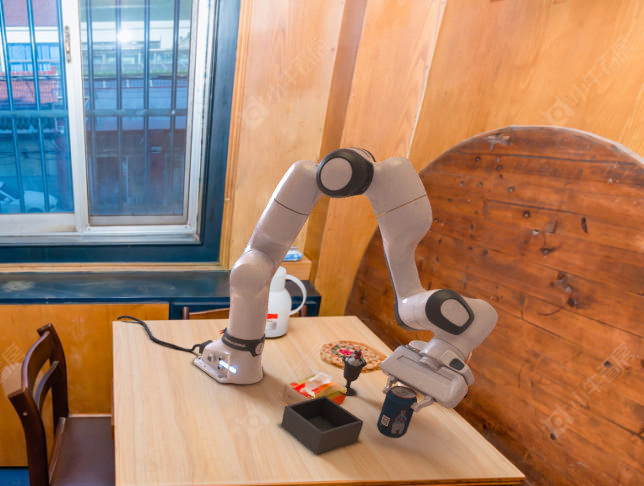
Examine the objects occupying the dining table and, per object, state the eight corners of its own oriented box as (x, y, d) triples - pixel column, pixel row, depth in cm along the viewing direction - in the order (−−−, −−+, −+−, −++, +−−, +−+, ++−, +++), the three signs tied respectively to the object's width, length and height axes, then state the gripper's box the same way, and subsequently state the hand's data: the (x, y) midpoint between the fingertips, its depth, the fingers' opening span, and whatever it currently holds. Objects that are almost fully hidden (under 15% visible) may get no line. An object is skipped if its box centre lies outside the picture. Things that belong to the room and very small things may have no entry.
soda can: (389, 421, 133) (402, 382, 127) (411, 436, 128) (426, 395, 122) (369, 427, 131) (381, 387, 125) (391, 442, 126) (405, 401, 119)
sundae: (347, 399, 148) (360, 353, 141) (330, 388, 154) (341, 343, 146) (363, 394, 151) (376, 348, 143) (345, 383, 156) (357, 339, 149)
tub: (280, 425, 136) (284, 406, 133) (320, 414, 141) (324, 395, 138) (316, 454, 125) (321, 434, 122) (357, 441, 130) (363, 421, 127)
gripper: (399, 335, 129) (361, 376, 131) (475, 371, 113) (431, 417, 115) (406, 348, 133) (369, 388, 135) (481, 384, 117) (438, 429, 119)
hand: (398, 402), depth 125 cm, fingers closed on soda can, 7 cm apart
